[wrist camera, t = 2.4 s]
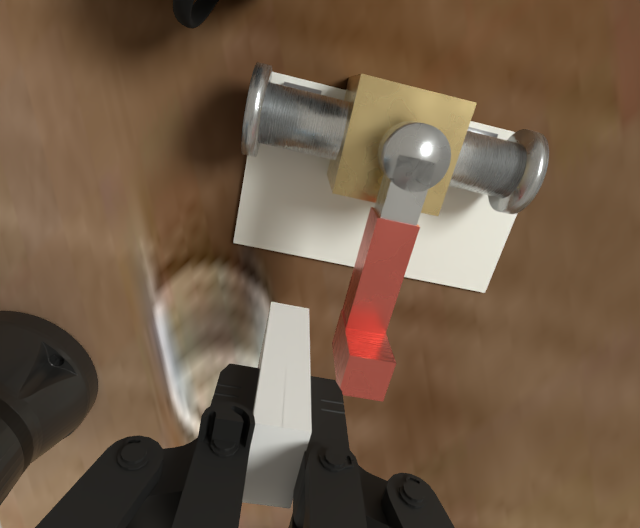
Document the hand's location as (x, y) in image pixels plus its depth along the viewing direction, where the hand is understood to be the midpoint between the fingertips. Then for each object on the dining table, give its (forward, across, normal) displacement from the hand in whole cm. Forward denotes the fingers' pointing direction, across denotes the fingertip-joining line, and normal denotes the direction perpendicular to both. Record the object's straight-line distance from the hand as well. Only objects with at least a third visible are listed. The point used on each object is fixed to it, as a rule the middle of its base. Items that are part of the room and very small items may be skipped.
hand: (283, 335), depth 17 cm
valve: (+23, +6, +7) cm, 25 cm away
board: (+23, +8, +2) cm, 25 cm away
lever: (+14, +6, 0) cm, 15 cm away
